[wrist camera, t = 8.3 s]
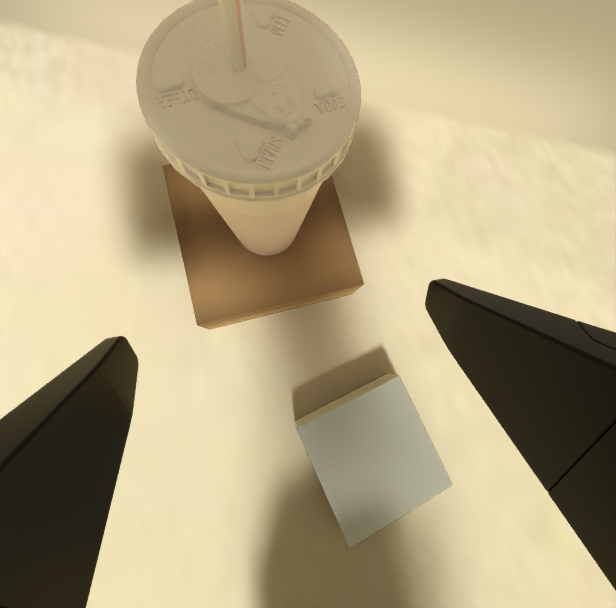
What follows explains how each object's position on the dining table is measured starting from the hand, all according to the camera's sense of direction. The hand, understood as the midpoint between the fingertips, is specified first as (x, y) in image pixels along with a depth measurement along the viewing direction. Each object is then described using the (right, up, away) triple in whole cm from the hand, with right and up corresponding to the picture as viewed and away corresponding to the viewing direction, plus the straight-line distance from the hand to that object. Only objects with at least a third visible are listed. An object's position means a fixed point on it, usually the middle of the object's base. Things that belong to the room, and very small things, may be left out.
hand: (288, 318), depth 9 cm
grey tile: (+4, -9, +10) cm, 14 cm away
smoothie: (-2, +5, +9) cm, 11 cm away
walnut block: (-2, +5, +12) cm, 13 cm away
